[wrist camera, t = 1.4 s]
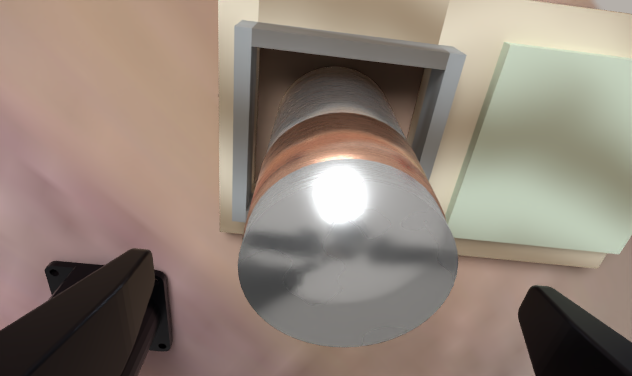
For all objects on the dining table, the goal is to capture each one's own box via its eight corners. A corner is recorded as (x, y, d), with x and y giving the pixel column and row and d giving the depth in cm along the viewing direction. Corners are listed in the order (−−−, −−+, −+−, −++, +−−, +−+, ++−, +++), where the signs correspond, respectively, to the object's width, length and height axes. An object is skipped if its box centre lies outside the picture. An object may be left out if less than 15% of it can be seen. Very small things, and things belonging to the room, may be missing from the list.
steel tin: (379, 180, 20) (427, 355, 11) (272, 169, 19) (234, 339, 11) (403, 73, 17) (492, 191, 8) (280, 57, 17) (238, 164, 8)
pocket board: (586, 256, 22) (617, 290, 20) (223, 220, 21) (212, 252, 18) (723, 26, 16) (790, 37, 14) (223, -41, 15) (206, -42, 13)
